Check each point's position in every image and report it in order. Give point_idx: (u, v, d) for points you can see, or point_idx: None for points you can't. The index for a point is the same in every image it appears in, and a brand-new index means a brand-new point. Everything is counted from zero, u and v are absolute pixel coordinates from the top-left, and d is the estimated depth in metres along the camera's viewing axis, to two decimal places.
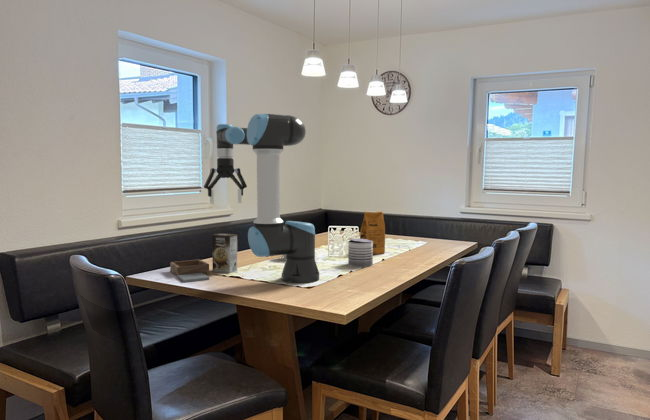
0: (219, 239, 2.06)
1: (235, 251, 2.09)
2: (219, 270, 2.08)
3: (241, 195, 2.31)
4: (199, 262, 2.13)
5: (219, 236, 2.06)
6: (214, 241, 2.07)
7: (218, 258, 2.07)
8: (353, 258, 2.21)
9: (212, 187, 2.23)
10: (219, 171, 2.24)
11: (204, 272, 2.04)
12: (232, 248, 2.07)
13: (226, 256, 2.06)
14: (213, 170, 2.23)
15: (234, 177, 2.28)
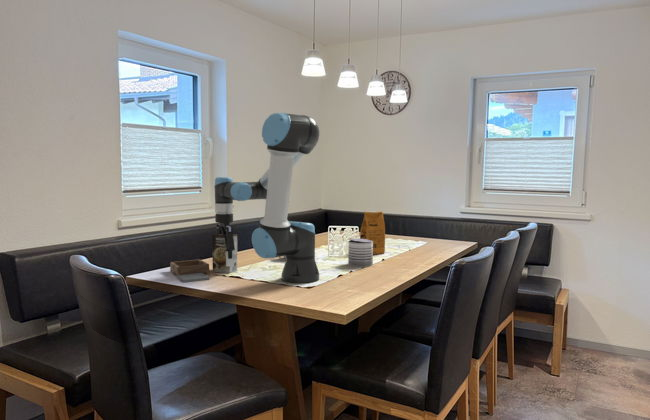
0: (219, 239, 2.06)
1: (235, 251, 2.09)
2: (219, 270, 2.08)
3: (228, 258, 2.04)
4: (199, 262, 2.13)
5: (219, 236, 2.06)
6: (214, 241, 2.07)
7: (219, 258, 2.07)
8: (353, 258, 2.21)
9: None
10: (219, 227, 2.11)
11: (204, 272, 2.04)
12: None
13: None
14: None
15: None
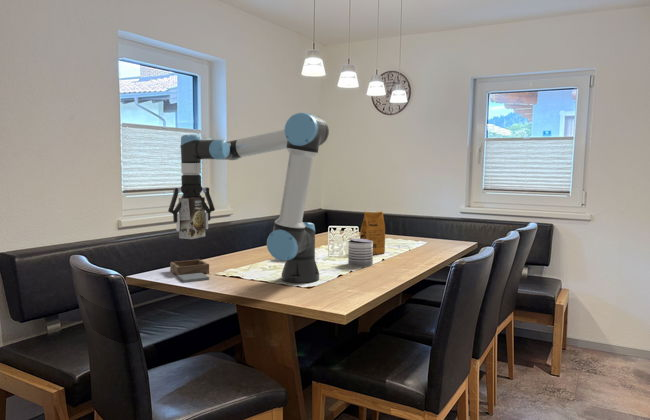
0: (197, 202, 1.91)
1: None
2: (197, 236, 1.92)
3: (208, 220, 1.96)
4: (199, 262, 2.13)
5: (197, 199, 1.91)
6: (193, 205, 1.89)
7: (197, 222, 1.92)
8: (353, 258, 2.21)
9: (178, 211, 1.89)
10: (184, 190, 1.90)
11: (204, 272, 2.04)
12: None
13: (203, 220, 1.95)
14: (176, 190, 1.89)
15: (201, 198, 1.94)
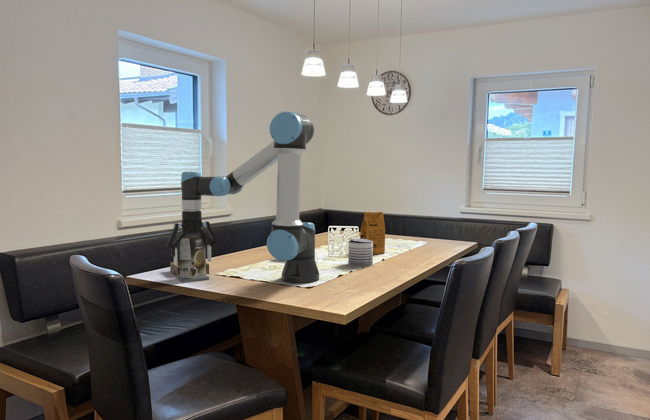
0: (198, 241, 1.93)
1: None
2: (198, 275, 1.94)
3: (211, 252, 1.98)
4: None
5: (198, 238, 1.93)
6: (194, 245, 1.90)
7: (198, 261, 1.93)
8: (353, 258, 2.21)
9: (176, 245, 1.90)
10: (184, 226, 1.91)
11: None
12: None
13: (203, 258, 1.96)
14: (177, 226, 1.89)
15: (202, 232, 1.95)
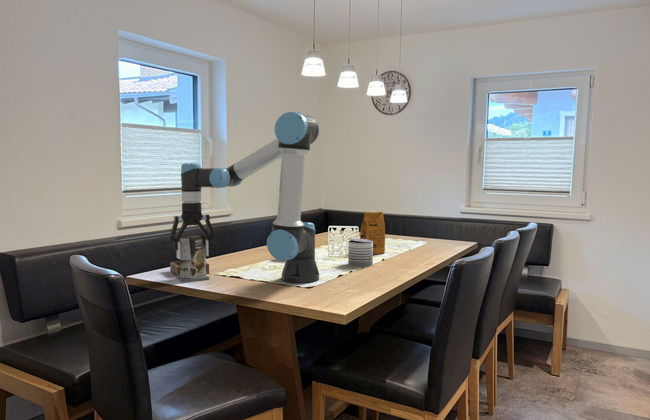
0: (198, 241, 1.93)
1: None
2: (198, 275, 1.94)
3: (208, 247, 1.97)
4: None
5: (198, 238, 1.93)
6: (194, 245, 1.90)
7: (198, 261, 1.93)
8: (353, 258, 2.21)
9: (178, 239, 1.90)
10: (184, 218, 1.91)
11: None
12: None
13: (203, 258, 1.96)
14: (177, 218, 1.89)
15: (201, 225, 1.94)
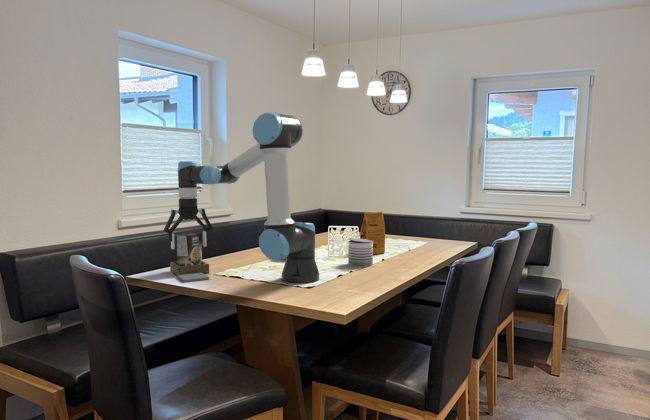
0: (194, 239, 2.04)
1: None
2: None
3: (206, 238, 2.09)
4: None
5: (194, 236, 2.04)
6: (191, 242, 2.02)
7: (194, 258, 2.05)
8: (353, 258, 2.21)
9: None
10: (181, 213, 2.03)
11: (204, 272, 2.04)
12: None
13: (199, 254, 2.08)
14: (174, 212, 2.01)
15: (198, 219, 2.06)
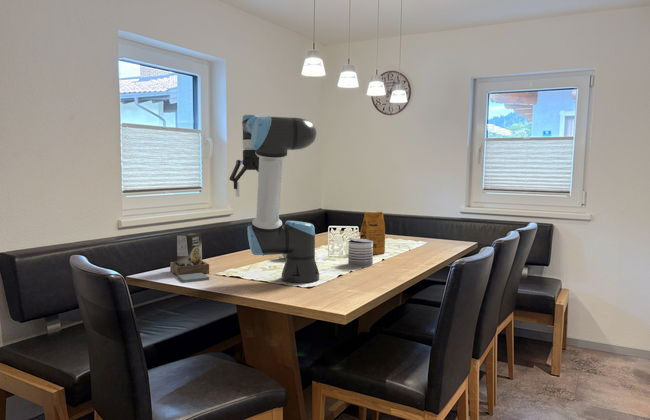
0: (194, 239, 2.04)
1: None
2: None
3: None
4: None
5: (194, 236, 2.04)
6: (191, 242, 2.02)
7: (194, 258, 2.05)
8: (353, 258, 2.21)
9: (238, 179, 2.17)
10: (245, 163, 2.19)
11: (204, 272, 2.04)
12: None
13: (199, 254, 2.08)
14: (239, 162, 2.17)
15: None
